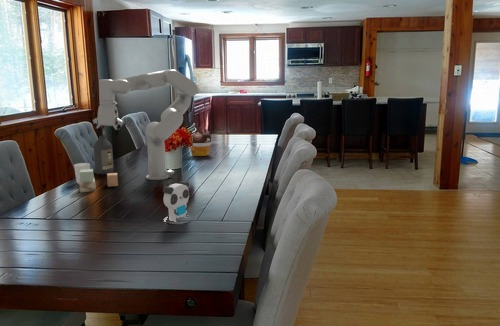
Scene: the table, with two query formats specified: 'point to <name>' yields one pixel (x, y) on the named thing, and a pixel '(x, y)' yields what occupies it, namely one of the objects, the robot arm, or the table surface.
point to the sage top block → (86, 175)
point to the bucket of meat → (201, 143)
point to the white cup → (80, 167)
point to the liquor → (103, 155)
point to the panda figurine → (176, 200)
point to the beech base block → (87, 186)
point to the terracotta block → (112, 179)
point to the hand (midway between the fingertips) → (108, 136)
